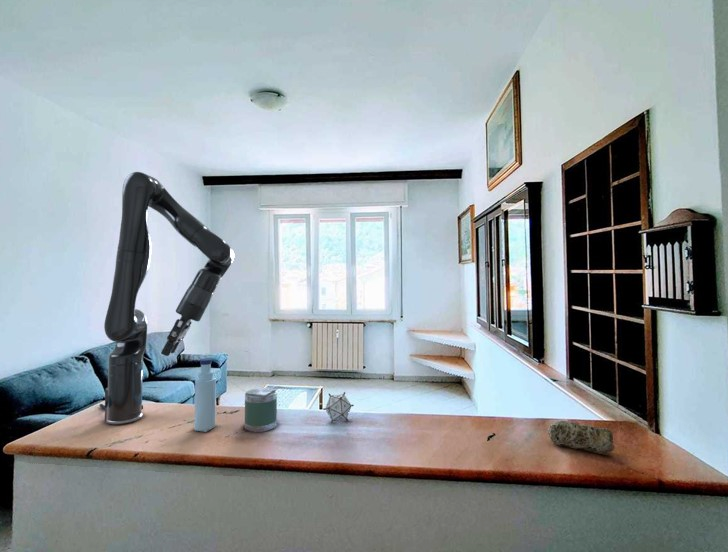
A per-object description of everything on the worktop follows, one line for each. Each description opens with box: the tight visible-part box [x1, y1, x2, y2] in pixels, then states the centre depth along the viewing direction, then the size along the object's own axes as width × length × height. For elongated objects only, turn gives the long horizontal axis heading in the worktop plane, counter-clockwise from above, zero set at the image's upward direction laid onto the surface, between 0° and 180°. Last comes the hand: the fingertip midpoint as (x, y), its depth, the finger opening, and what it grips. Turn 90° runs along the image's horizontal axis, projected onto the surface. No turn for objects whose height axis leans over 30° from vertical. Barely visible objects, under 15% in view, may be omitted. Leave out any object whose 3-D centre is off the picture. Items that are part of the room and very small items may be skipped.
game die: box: [322, 391, 355, 424], centre depth 121 cm, size 9×8×10 cm
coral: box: [547, 419, 615, 456], centre depth 102 cm, size 14×6×6 cm, turn 58°
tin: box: [244, 386, 278, 433], centre depth 117 cm, size 9×9×10 cm
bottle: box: [193, 357, 217, 433], centre depth 115 cm, size 6×6×20 cm
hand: (167, 353), depth 116 cm, fingers open, 8 cm apart
